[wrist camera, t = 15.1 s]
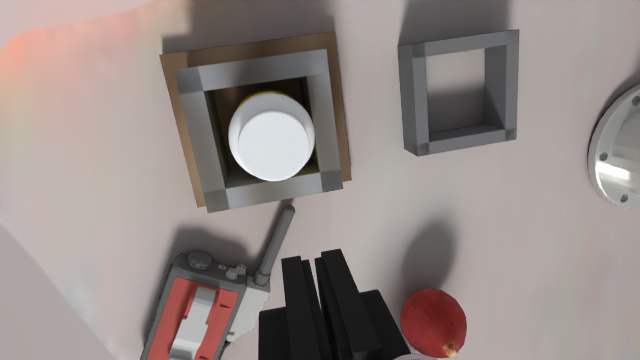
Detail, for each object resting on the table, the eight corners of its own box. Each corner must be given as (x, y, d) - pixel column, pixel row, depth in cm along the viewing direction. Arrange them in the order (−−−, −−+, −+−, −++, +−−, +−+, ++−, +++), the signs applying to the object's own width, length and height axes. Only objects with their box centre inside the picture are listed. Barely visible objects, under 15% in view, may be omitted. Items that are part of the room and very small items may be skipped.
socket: (332, 32, 30) (349, 25, 24) (349, 176, 34) (367, 200, 28) (162, 55, 29) (139, 53, 23) (199, 203, 32) (187, 233, 27)
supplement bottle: (308, 92, 30) (330, 105, 21) (298, 159, 32) (315, 199, 22) (237, 81, 29) (228, 91, 20) (231, 151, 31) (220, 190, 21)
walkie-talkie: (227, 380, 39) (301, 203, 34) (224, 418, 34) (307, 223, 30) (137, 362, 36) (204, 171, 32) (122, 400, 32) (196, 187, 28)
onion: (455, 290, 39) (502, 344, 32) (419, 331, 40) (457, 394, 32) (414, 263, 37) (454, 313, 30) (377, 306, 38) (407, 366, 31)
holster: (495, 32, 32) (519, 29, 29) (495, 132, 35) (516, 139, 32) (397, 46, 31) (411, 44, 28) (404, 148, 34) (417, 156, 31)
